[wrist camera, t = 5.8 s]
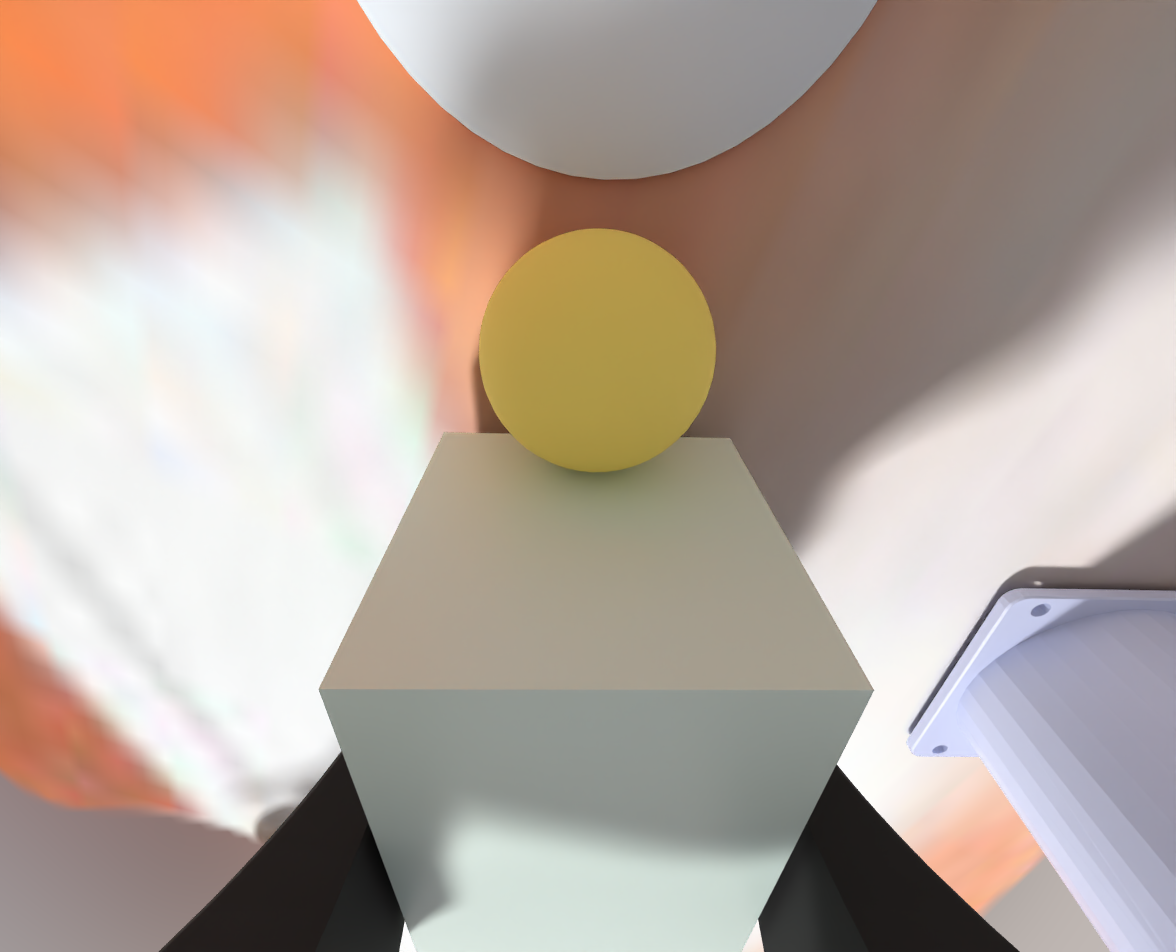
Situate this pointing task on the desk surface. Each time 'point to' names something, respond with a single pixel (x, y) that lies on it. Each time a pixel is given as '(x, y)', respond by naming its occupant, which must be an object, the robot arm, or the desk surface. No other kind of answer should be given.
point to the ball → (597, 350)
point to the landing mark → (616, 72)
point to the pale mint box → (589, 702)
